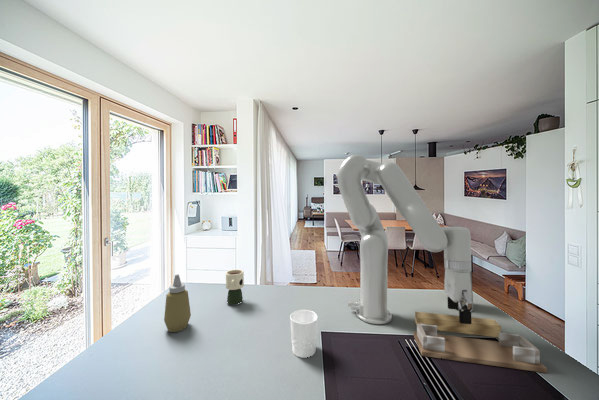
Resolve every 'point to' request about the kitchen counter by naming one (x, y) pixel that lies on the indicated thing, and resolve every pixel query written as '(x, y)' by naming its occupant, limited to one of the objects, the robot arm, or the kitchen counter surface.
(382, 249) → the robot arm
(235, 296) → the character mug
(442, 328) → the slat
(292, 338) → the white cup
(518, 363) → the end cap frame
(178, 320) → the squeeze bottle
